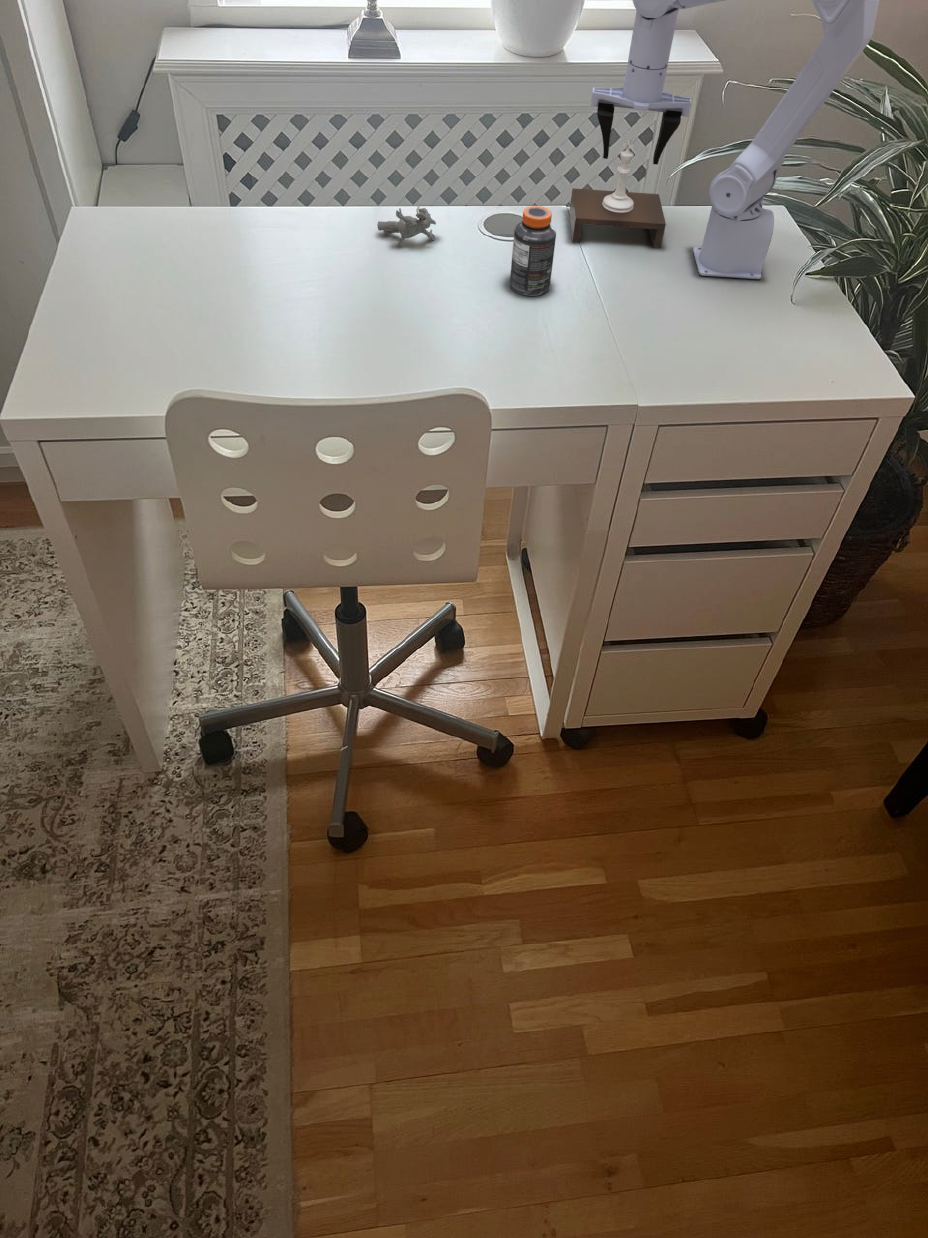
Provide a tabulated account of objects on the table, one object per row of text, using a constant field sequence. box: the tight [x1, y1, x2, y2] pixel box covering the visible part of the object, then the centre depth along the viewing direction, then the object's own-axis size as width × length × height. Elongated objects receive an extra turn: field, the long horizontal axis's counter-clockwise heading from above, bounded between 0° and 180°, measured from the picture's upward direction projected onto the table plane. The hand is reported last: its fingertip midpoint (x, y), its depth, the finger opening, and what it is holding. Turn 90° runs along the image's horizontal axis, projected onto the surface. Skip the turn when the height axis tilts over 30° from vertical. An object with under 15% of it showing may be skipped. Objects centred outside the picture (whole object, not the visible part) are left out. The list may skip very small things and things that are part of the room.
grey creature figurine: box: [377, 203, 437, 247], centre depth 146 cm, size 10×6×9 cm
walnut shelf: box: [568, 188, 667, 249], centre depth 153 cm, size 14×10×4 cm
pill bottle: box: [509, 205, 557, 297], centre depth 137 cm, size 6×6×11 cm
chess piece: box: [602, 138, 635, 213], centre depth 148 cm, size 5×5×10 cm
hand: (630, 158), depth 148 cm, fingers open, 7 cm apart
